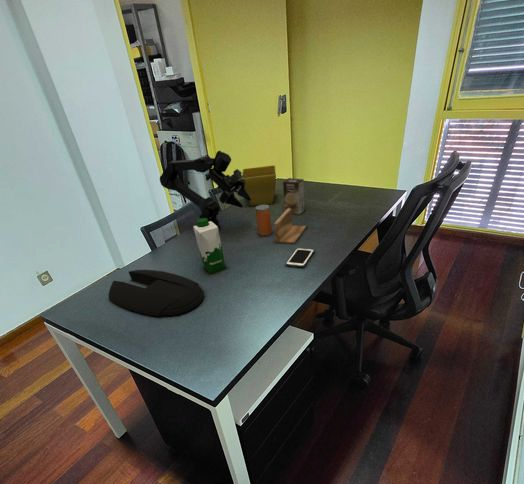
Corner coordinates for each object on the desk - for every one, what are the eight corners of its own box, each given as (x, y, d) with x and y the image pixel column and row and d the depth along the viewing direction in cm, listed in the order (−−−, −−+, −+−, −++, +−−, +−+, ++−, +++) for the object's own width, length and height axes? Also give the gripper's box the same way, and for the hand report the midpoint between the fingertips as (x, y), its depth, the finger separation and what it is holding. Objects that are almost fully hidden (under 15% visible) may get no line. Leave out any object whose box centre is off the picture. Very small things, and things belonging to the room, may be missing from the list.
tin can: (257, 236, 159) (253, 210, 150) (260, 230, 163) (257, 204, 155) (270, 236, 157) (267, 209, 149) (273, 230, 162) (270, 204, 154)
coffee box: (284, 213, 178) (282, 181, 167) (289, 208, 182) (288, 177, 171) (299, 214, 173) (298, 182, 163) (304, 210, 177) (304, 178, 167)
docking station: (174, 327, 110) (169, 315, 107) (99, 300, 129) (94, 289, 126) (219, 289, 125) (216, 277, 122) (146, 270, 144) (142, 260, 141)
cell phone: (285, 266, 133) (285, 264, 132) (297, 249, 143) (297, 247, 142) (303, 268, 130) (303, 265, 129) (314, 251, 140) (314, 249, 139)
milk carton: (220, 260, 143) (210, 215, 130) (228, 268, 137) (219, 221, 124) (201, 267, 141) (189, 221, 128) (209, 275, 134) (197, 228, 121)
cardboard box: (278, 205, 188) (275, 173, 177) (245, 209, 189) (240, 178, 179) (277, 194, 202) (275, 165, 192) (247, 198, 204) (242, 168, 193)
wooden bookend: (275, 242, 151) (274, 223, 145) (288, 226, 163) (287, 208, 157) (294, 243, 148) (293, 224, 142) (306, 227, 160) (305, 208, 154)
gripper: (219, 171, 139) (247, 197, 142) (237, 159, 152) (263, 183, 155) (208, 191, 147) (234, 215, 150) (226, 178, 160) (250, 201, 163)
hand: (246, 203), depth 154 cm, fingers open, 9 cm apart
